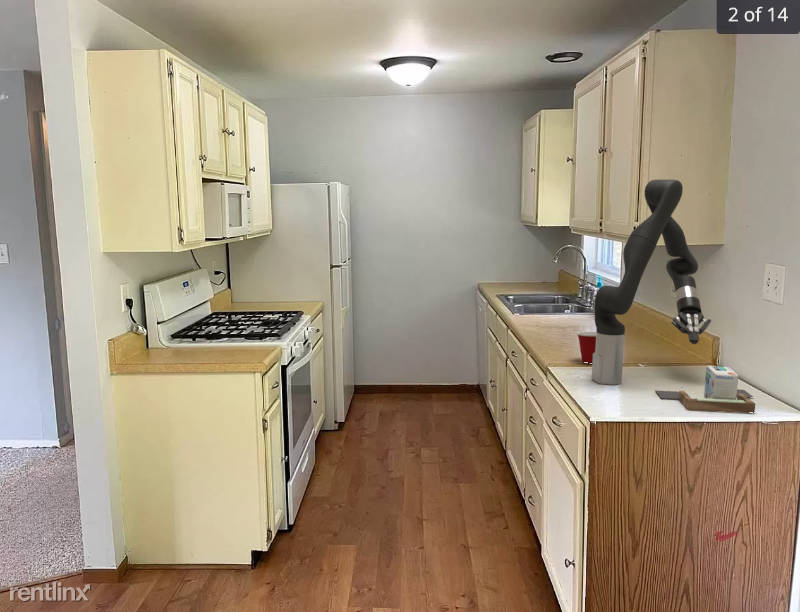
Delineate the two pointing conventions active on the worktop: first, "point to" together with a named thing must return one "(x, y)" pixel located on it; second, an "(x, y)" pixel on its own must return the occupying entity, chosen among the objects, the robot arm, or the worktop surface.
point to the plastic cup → (587, 345)
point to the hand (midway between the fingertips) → (694, 342)
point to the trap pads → (675, 394)
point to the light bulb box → (720, 383)
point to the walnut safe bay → (717, 403)
